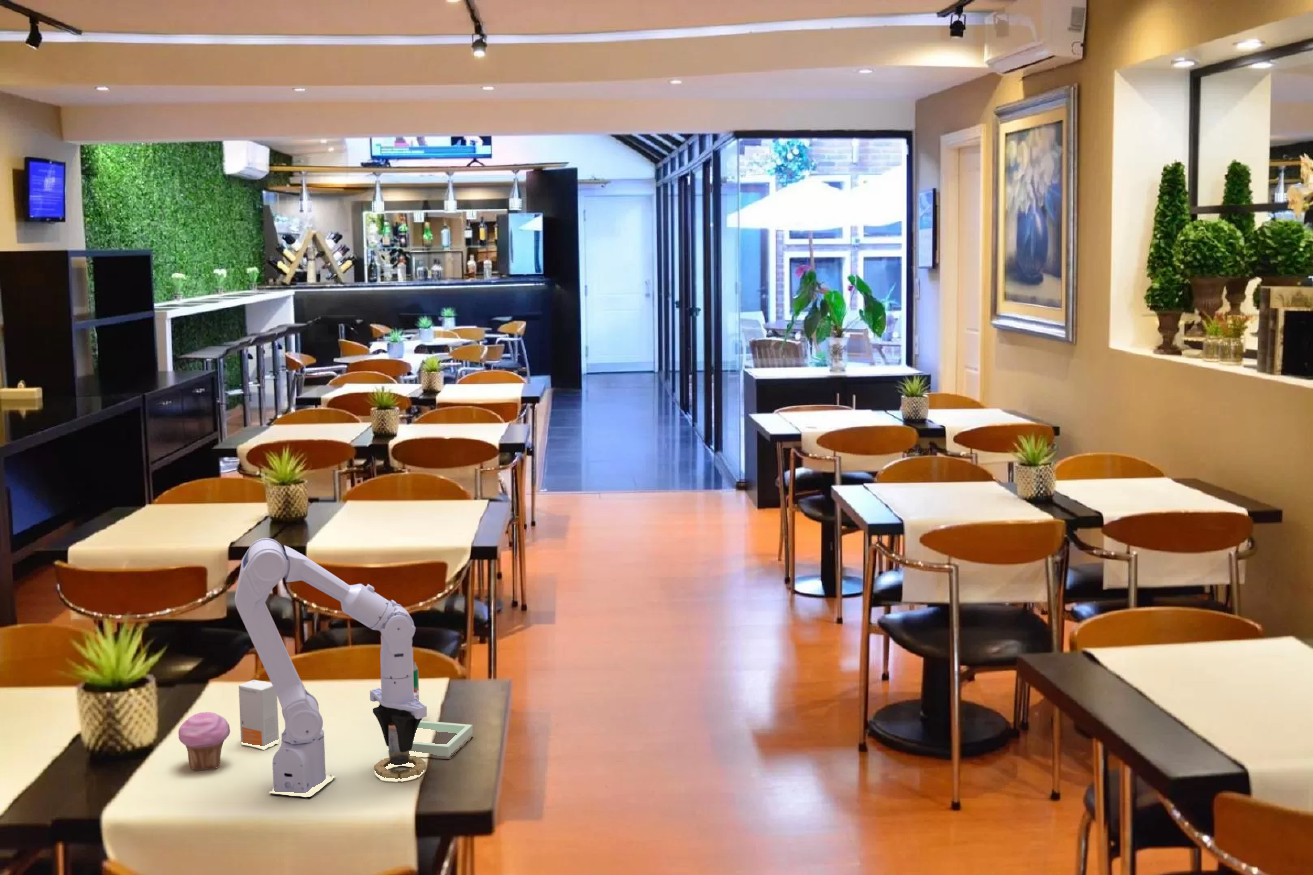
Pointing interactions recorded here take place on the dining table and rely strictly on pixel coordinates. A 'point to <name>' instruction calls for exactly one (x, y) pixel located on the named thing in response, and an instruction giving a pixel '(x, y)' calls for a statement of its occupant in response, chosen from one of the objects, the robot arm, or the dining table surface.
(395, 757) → the grey copper-topped cylinder
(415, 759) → the collar
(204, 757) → the cupcake
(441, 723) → the mint green square frame
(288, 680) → the robot arm
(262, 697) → the skincare box
